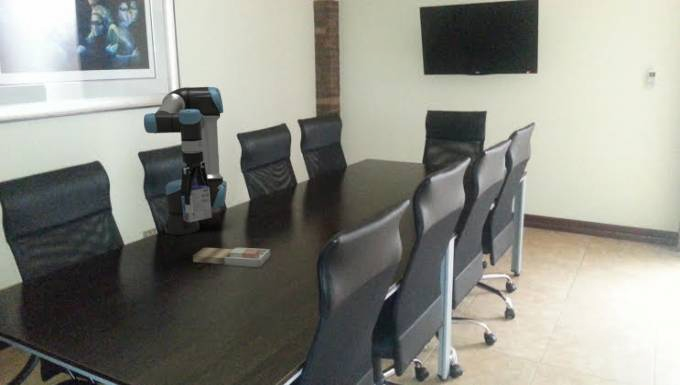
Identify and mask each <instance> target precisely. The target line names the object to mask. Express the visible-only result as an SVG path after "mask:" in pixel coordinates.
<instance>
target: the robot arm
mask: <svg viewBox="0 0 680 385" xmlns="http://www.w3.org/2000/svg"><path fill="white" fill-rule="evenodd" d="M223 113H224V105H223V98H222V95H221V92H220V89H219V88H218V87H217V86H216V87H215V86H199V87H198V86H197V87H196V86H195V87H194V86H193V87H189V86H186V87H180V88H177V89H175V90H173V91H171V92H169V93H167V94H166V95H165V96H164V97H163V99H162V104H161V105H160V106H159V108H158V109H157V110H156V111H155V113H153V112H151V113H146V114H144V117H143V128H144V131H145V132H146V133H148V134H175V133H176V134H178V133H180V142H181V151H182V153H181V154H182V162H183V163H184V164H185V168H181V179H177V180H173V181H170V182H168V183H167V184H166V186H165V197H166V206H167V207H166V208H167V218H166V222H165V226H164V231H165V233H166V234H167V235H171V236H172V235H173V236H175V235H176V236H181V235H183V236H184V235H188V234H189V235H190V234H193V233H196V232H198V231H199V230H200V223H199V220H198V221H193V222H187V221H185V220H184V219H183V209H182V200H181V196H184V198H185V210H186V213H193V202H192V196H190V195H191V191H192V186H193V185H196V183H193V181H195V179H196V181H197V182H198V185H199V186H201V185H204V186H208V187H209V189H210V202H211V208H218V207H223V206H224V205H225V203H226V197H227V189H228V187H227V181H226V180H224V177H223V175H221V173H220V160H219V159H220V157H219V139H218V138H219V136H218V120H219V119H221V114H223ZM180 190H181V191H180Z"/></svg>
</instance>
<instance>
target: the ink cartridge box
mask: <svg viewBox="0 0 680 385" xmlns="http://www.w3.org/2000/svg"><path fill="white" fill-rule="evenodd" d="M193 183H196V185H193V186H192V191H191V195H190V196H192V202H193V213H186V210H185V198H184V196H181V200H182V209H183V219H184V220H185V221H187V222H193V221H198V222H199V221H201V220H206V219H207V220H208V219H210V218H212V217H213V216H212V207H211V202H210V189H209V187H208V186H204V185H201V186H199V185H198V182H197V180H194V181H193ZM180 191H181V190H180Z"/></svg>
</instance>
